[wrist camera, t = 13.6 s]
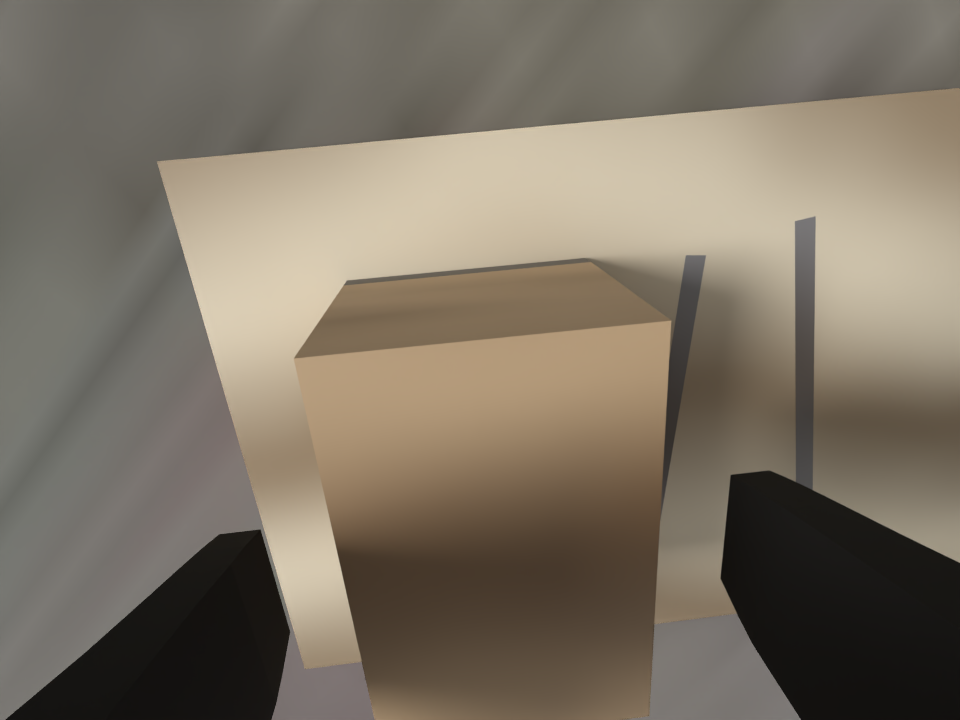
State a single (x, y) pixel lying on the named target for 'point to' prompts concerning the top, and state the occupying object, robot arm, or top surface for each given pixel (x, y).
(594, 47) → the top surface
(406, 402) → the block
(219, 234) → the board
